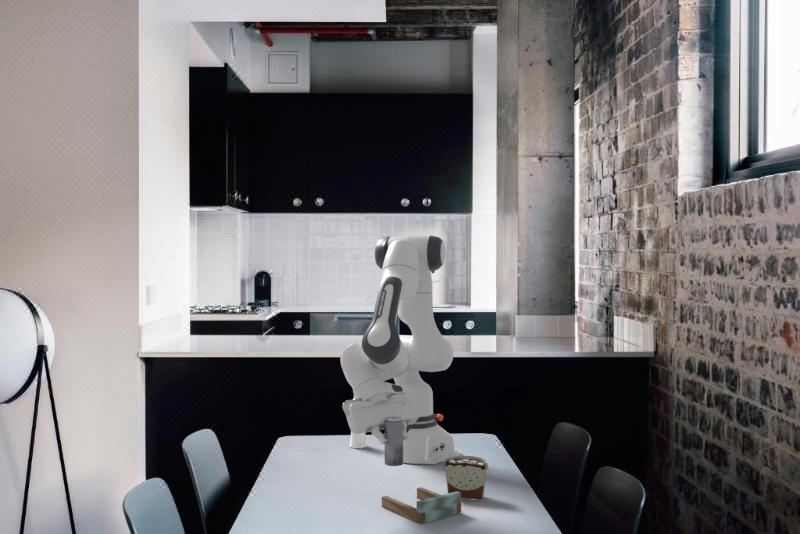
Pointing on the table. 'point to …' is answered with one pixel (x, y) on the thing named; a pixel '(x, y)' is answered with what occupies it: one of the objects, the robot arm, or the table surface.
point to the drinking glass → (394, 441)
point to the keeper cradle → (426, 506)
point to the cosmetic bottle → (358, 439)
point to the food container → (466, 476)
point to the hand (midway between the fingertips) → (395, 440)
